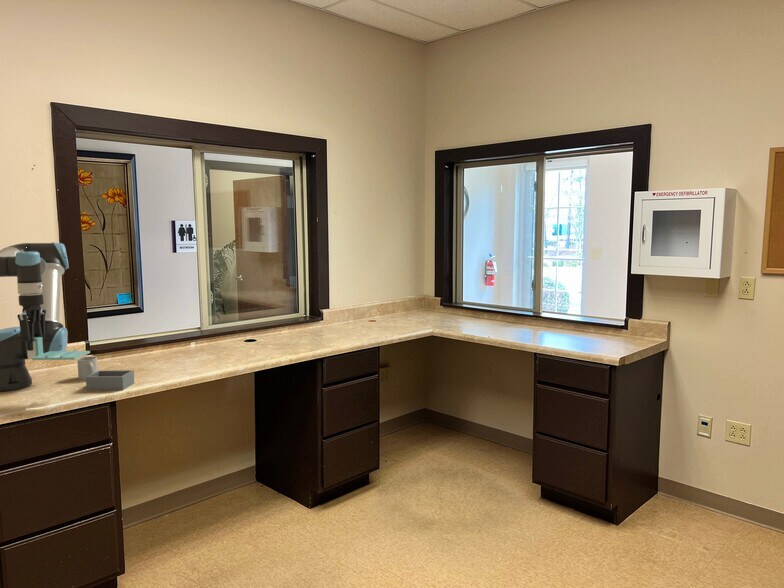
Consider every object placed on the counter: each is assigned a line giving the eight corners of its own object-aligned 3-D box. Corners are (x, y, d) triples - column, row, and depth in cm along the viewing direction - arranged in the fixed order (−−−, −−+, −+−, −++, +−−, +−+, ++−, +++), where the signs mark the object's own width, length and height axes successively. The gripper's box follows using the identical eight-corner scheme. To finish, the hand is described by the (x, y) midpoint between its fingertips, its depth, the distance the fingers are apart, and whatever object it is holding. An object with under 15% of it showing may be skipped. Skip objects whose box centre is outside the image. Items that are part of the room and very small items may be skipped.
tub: (86, 392, 217) (85, 377, 216) (99, 385, 227) (98, 370, 226) (123, 392, 217) (122, 376, 217) (134, 384, 227) (133, 370, 227)
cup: (95, 376, 241) (94, 355, 240) (102, 380, 234) (101, 359, 233) (76, 379, 236) (75, 358, 235) (83, 384, 229) (82, 362, 228)
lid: (20, 360, 201) (19, 340, 200) (39, 353, 212) (37, 335, 211) (74, 359, 202) (73, 340, 201) (90, 353, 213) (88, 334, 212)
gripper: (27, 296, 196) (32, 362, 199) (53, 291, 212) (58, 352, 215) (5, 296, 196) (10, 363, 199) (33, 291, 212) (38, 353, 215)
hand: (35, 357), depth 207 cm, fingers closed on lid, 3 cm apart
